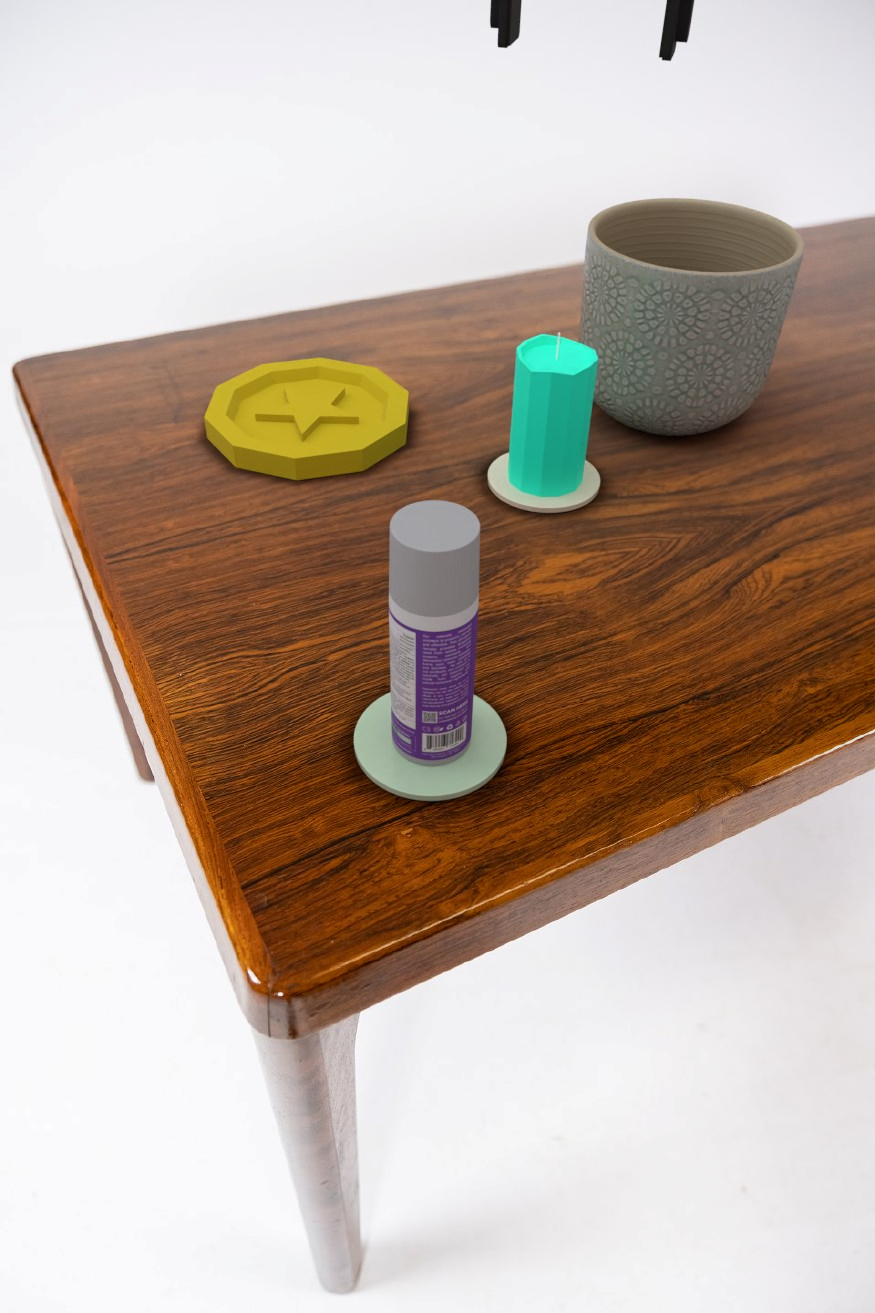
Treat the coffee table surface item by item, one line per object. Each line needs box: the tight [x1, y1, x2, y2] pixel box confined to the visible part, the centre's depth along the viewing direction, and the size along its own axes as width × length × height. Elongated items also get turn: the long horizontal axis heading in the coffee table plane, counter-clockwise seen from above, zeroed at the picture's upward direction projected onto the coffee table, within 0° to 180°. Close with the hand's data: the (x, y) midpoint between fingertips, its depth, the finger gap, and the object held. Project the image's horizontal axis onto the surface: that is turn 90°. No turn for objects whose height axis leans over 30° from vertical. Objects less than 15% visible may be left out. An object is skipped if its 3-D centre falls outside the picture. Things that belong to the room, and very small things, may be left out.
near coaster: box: [353, 691, 508, 802], centre depth 60 cm, size 9×9×1 cm
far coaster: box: [486, 451, 601, 514], centre depth 81 cm, size 9×9×1 cm
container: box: [388, 499, 481, 766], centre depth 54 cm, size 5×5×15 cm
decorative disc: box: [203, 357, 410, 481], centre depth 87 cm, size 17×18×2 cm
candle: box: [508, 332, 598, 497], centre depth 77 cm, size 6×6×12 cm
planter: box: [577, 197, 805, 437], centre depth 85 cm, size 17×17×15 cm
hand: (586, 49), depth 61 cm, fingers open, 9 cm apart
